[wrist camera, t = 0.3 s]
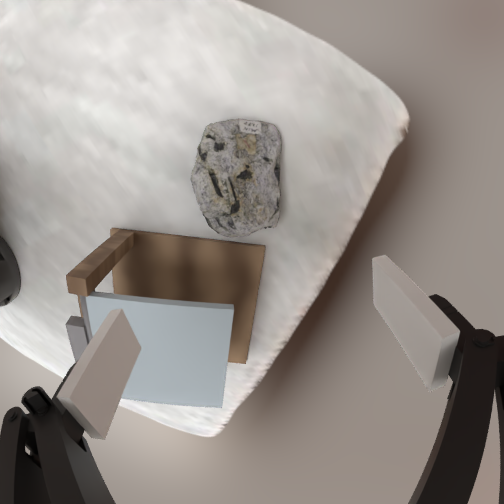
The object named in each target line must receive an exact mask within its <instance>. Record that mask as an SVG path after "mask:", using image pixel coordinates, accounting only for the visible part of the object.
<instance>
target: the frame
mask: <svg viewBox="0 0 504 504" xmlns="http://www.w3.org/2000/svg"><path fill="white" fill-rule="evenodd" d="M110 235H111V237H110V238H109V239H107V240H106V241H105V242H104V243H103V244H101V245H100V246H99V247H98V248H97V249H95V250H94V251H93V252H92V253H91V254H90V255H88V256H87V257H86V258H85V259H84V260H83V261H82V262H80V263H79V264H78V265H77V266H76V267H75V268H74V269H73V270H71V271H70V272H69V273H68V274H67V275H66V280H67V286H68V292H69V293H71V294H76V295H78V301H79V307H80V313H81V317H83V313H82V308H81V302H80V296H79V295H81V296H86V297H88V296H89V295H90V294H91V292H92V291H95V288H96V287H97V285H98V284H99V283H100V282H101V281H102V280H103V279H104V277H105V276H106V275H107V274H108V273H109V272H110V271H111V270H112V275H113V288H114V294H120V295H129V296H138V297H148V298H158V299H168V300H180V301H192V302H205V303H219V304H233V305H234V314H233V322H232V330H231V338H230V346H229V354H228V362H232V363H242V364H246V360H247V354H248V348H249V342H250V336H251V330H252V325H253V319H254V313H255V307H256V301H257V295H258V289H259V283H260V277H261V271H262V265H263V258H264V252H265V246H264V245H256V244H248V243H239V242H231V241H222V240H214V239H205V238H197V237H188V236H180V235H171V234H162V233H153V232H145V231H136V230H127V229H118V228H112V229H110Z"/></svg>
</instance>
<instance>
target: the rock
mask: <svg viewBox="0 0 504 504" xmlns="http://www.w3.org/2000/svg"><path fill="white" fill-rule="evenodd" d="M280 141H281V138H280V134H279V132H278V130H277V129H276V127H275V126H274V125H273V124H269V123H265V122H261V121H248V120H243V119H236V120H227V121H226V122H225V121H221V122H216V123H214V124H213V123H211V124H209V125H208V126H207V127H206V128H205V130H204V132H203V136H202V140H201V142H200V144H199V146H198V148H197V150H198V153H197V156H196V162H195V166H194V168H193V170H192V175H191V181H192V185H193V189H194V192H195V194H196V198H197V202H198V204H199V206H200V210H201V211H202V213H203V216H205V218H206V220H207V223H208V225H209V226H210V227H211V228H212V229H214V230H215V231H217V233H219V234H221V235H224V236H227V237H238V236H240V237H244V236H248V235H250V234H251V233H253V232H255V231H257V230H259V229H262V228H265V229H266V228H267V227H268V228H271V227H273V228H275V227H276V226H277V222H278V219H279V214H280V210H279V206H278V202H279V199H280V194H281V192H280V189H279V174H280V167H279V153H280V151H281V143H280Z"/></svg>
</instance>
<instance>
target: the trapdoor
mask: <svg viewBox="0 0 504 504" xmlns="http://www.w3.org/2000/svg"><path fill="white" fill-rule="evenodd" d="M79 296H80V302H81V308H82V313H83V317H77V316H71V317H70V318H69V320H68V321H67V323H66V328H67V332H68V336H69V340H70V344H71V347H72V351H73V354H74V358H75V361H76V362H77V361H78V360H79V358H80V357H81V355H82V353H83V352H84V350H85V349H86V347H87V346H88V344H89V342H90V341H91V339H92V338H93V336H94V335H95V333H96V332H97V330H98V329H99V327H100V326H101V324H102V323H103V321H104V320H105V318H106V317H107V315H108V314H109V312H110V311H111V310H116V309H123V311H124V313H125V315H126V318H127V320H128V322H129V324H130V326H131V328H132V330H133V332H134V334H135V336H136V338H137V340H138V342H139V344H140V346H141V351H140V353H139V355H138V358H137V360H136V362H135V365H134V367H133V370H132V372H131V374H130V377H129V379H128V382H127V384H126V387H125V389H124V391H123V394H122V396H121V398H123V399H130V400H137V401H144V402H152V403H161V404H170V405H182V406H196V407H216V408H222V404H223V395H224V387H225V379H226V370H227V362H228V354H229V346H230V338H231V330H232V322H233V314H234V305H233V304H219V303H205V302H192V301H180V300H168V299H158V298H148V297H138V296H129V295H120V294H111V293H103V292H95V291H92V292H91V294H90V295H89V296H88V297H86V296H81V295H79Z"/></svg>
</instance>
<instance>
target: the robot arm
mask: <svg viewBox="0 0 504 504" xmlns="http://www.w3.org/2000/svg"><path fill="white" fill-rule="evenodd" d="M372 269H373V299H374V300H373V305H374V306H375V307H376V309H377V310H378V312H379V313H380V315H381V316H382V318H383V319H384V321H385V322H386V324H387V325H388V327H389V328H390V330H391V331H392V333H393V335H394V336H395V338H396V339H397V341H398V342H399V344H400V345H401V347H402V349H403V350H404V352H405V353H406V355H407V357H408V358H409V360H410V361H411V363H412V365H413V366H414V368H415V369H416V371H417V373H418V374H419V376H420V378H421V379H422V381H423V383H424V384H425V386H426V388H427V389H428V391H429V392H431V391H434V390H436V389H438V388H441V387H443V386H445V385H446V382H447V379H448V375H449V376H450V378H451V379H452V381H453V384H452V387H451V390H450V393H449V395H448V398H447V399H448V402H447V406H446V409H445V413H444V416H443V420H442V422H441V426H440V429H439V432H438V435H437V438H436V440H435V443H434V446H433V449H432V451H431V454H430V456H429V459H428V462H427V464H426V466H425V469H424V471H423V473H422V476H421V478H420V480H419V482H418V485H417V487H416V489H415V491H414V493H413V495H412V497H411V499H410V501H409V503H408V504H467V503H468V501H469V498H470V495H471V492H472V489H473V486H474V483H475V480H476V477H477V474H478V470H479V467H480V463H481V460H482V456H483V452H484V448H485V443H486V439H487V433H488V429H489V424H490V418H491V412H492V404H493V398H494V390H495V394H496V402H497V410H498V419H499V433H500V455H501V456H500V459H501V460H500V461H501V462H500V463H501V464H500V465H501V466H500V469H501V471H500V493H499V504H504V336H498V337H495V335H494V334H493V333H491V332H490V331H488V330H484V329H475V328H474V327H473V326H472V325H471V324H470V323H469V322H468V321H467V320H466V319H465V318H464V317H463V316H462V315H461V314H460V313H459V312H457V310H456V308H454V307H452V305H451V304H450V303H449V302H448V301H447V300H446V299H445V298H443V297H441V296H439V295H437V294H435V295H432V296H429V297H428V296H427V295H426V294H425V293H424V292H423V291H422V290H421V289H420V288H419V287H418V286H417V285H416V284H415V283H414V282H413V281H412V280H411V279H410V278H409V277H408V276H407V275H406V274H405V273H404V272H403V271H402V270H401V269H400V268H399V267H398V266H397V265H396V264H395V263H394V262H393V261H391V260H390V259H389V258H388V257H387V256H386V255H383V256H379V257H375V258H372ZM19 290H20V274H19V269H18V266H17V263H16V260H15V257H14V255H13V253H12V251H11V249H10V248H9V246H8V245H7V243H6V242H5V241H4V239H3V238H2V237H1V236H0V307H1V306H5V305H7V304H9V303H10V302H11V301H12V300H14V299H15V298H16V297H17V295H18V293H19ZM140 351H141V346H140V344H139V342H138V340H137V338H136V336H135V334H134V332H133V330H132V328H131V326H130V324H129V322H128V320H127V318H126V315H125V313H124V311H123V309H116V310H111V311H110V312H109V314H108V315H107V317H106V318H105V320H104V321H103V323H102V324H101V326H100V327H99V329H98V330H97V332H96V333H95V335H94V336H93V338H92V339H91V341H90V342H89V344H88V346H87V347H86V349H85V350H84V352H83V353H82V355H81V357H80V358H79V360H78V361H77V362H76V363H75V364H74V365H73V366H72V367H71V368H70V369H69V371H68V372H67V374H66V376H65V377H64V379H63V382H62V383H61V384H60V386H59V387H58V389H57V391H56V393H55V394H54V396H53V398H52V399H50V398H49V396H48V395H47V394H46V392H45V391H44V390H43V389H42V388H41V387H33V388H31V389H29V390H28V391H27V392H26V393H25V394H24V396H23V397H22V404H23V405H24V406H25V407H26V408H27V410H28V411H29V412H30V413H29V414H25V413H24V412H23V410H22V409H21V408H20V407H13V408H11V409H10V410H8V411H7V413H6V414H5V417H4V419H3V424H2V429H1V434H0V504H116V503H115V502H114V500H113V498H112V496H111V494H110V492H109V490H108V488H107V486H106V484H105V482H104V480H103V478H102V476H101V474H100V472H99V470H98V467H97V465H96V463H95V461H94V458H93V456H92V453H91V451H90V448H89V446H88V443H87V441H86V439H85V438H84V437H83V436H82V435H83V433H84V430H85V431H86V432H87V433H88V434H89V436H90V437H91V438H95V439H104V440H105V438H106V436H107V433H108V430H109V427H110V425H111V422H112V420H113V417H114V414H115V412H116V409H117V407H118V404H119V401H120V399H121V396H122V394H123V391H124V389H125V387H126V384H127V382H128V379H129V377H130V374H131V372H132V370H133V367H134V365H135V362H136V360H137V358H138V355H139V353H140ZM25 446H26V447H27V448H28V449H29V450H30V455H28V454H27V453H26V452H25Z"/></svg>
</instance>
